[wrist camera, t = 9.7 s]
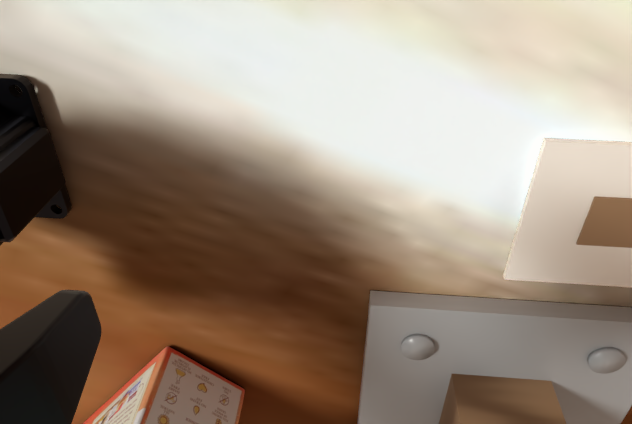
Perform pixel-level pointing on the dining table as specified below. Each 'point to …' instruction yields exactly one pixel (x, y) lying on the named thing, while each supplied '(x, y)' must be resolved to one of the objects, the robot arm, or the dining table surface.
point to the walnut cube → (500, 401)
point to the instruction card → (576, 216)
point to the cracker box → (173, 395)
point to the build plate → (493, 354)
